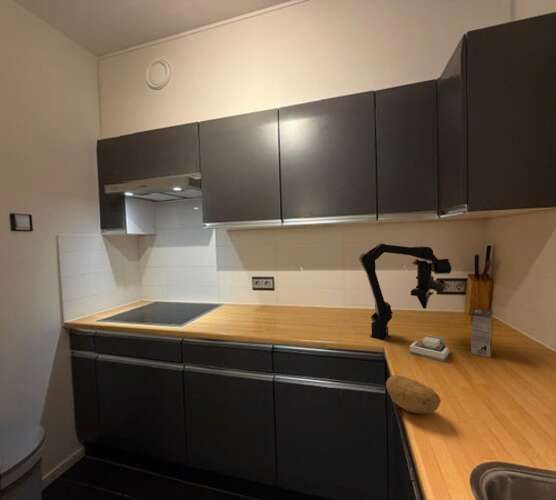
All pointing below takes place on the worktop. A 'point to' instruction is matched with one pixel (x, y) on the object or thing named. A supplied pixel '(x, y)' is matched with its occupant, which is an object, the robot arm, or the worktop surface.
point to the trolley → (433, 343)
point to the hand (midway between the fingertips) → (424, 308)
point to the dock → (429, 352)
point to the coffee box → (481, 332)
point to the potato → (412, 395)
